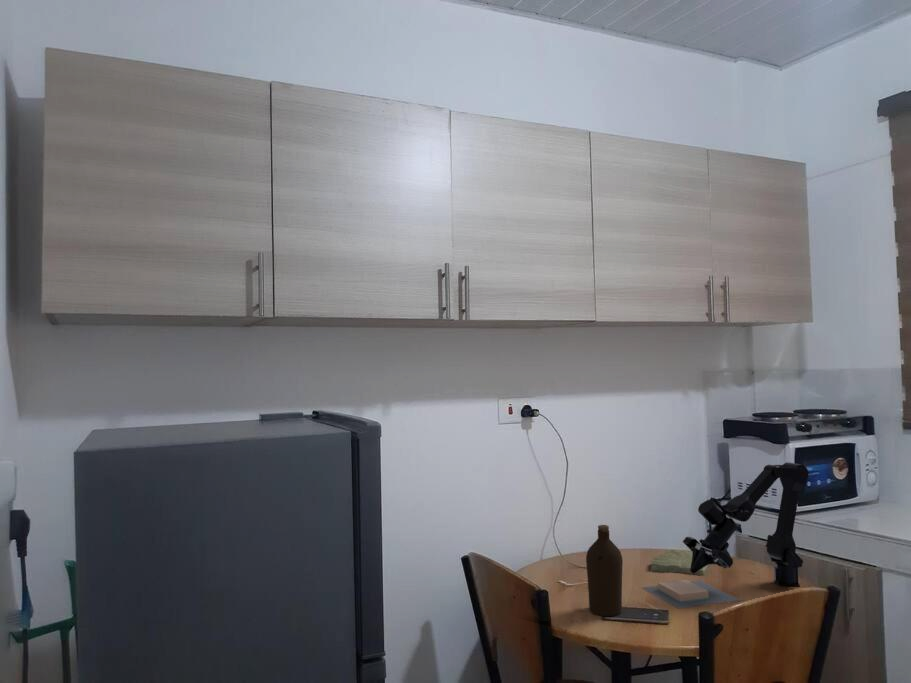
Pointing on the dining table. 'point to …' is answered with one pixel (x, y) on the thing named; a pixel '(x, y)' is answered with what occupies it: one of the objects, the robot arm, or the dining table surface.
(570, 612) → the dining table surface
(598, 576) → the olive oil
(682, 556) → the decorative tile
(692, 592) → the tile
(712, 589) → the mat
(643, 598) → the dining table surface
